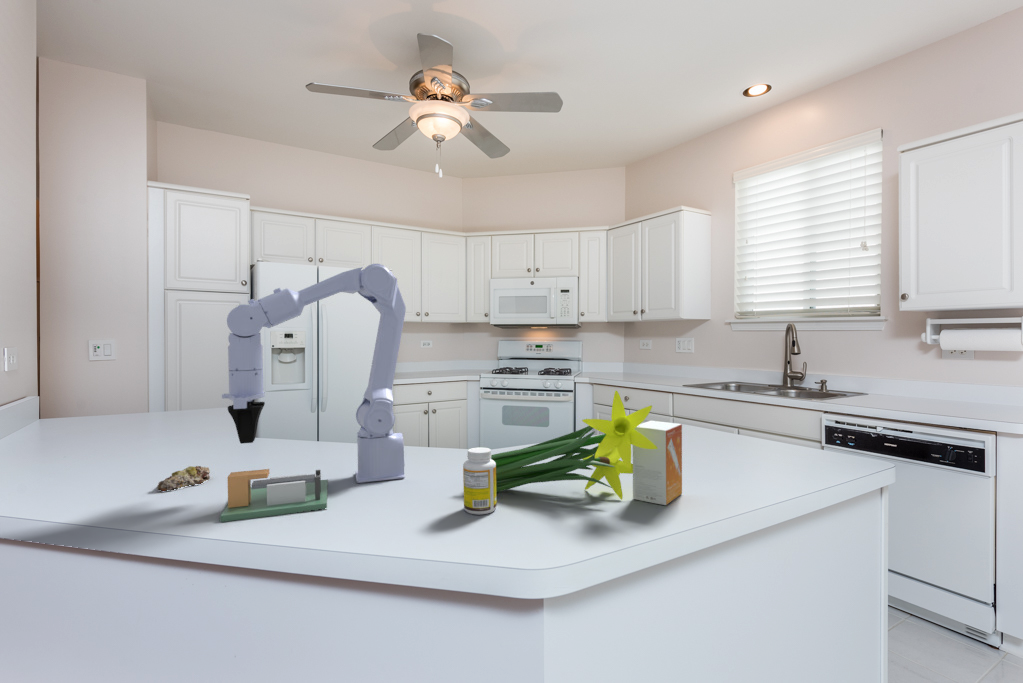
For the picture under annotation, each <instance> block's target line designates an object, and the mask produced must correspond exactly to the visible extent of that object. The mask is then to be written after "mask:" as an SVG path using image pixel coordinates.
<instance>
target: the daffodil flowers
mask: <svg viewBox="0 0 1023 683" xmlns="http://www.w3.org/2000/svg"><path fill="white" fill-rule="evenodd" d="M652 408H653V405H648V406H645V407H643V408H641V409H638V410H636V411H634V412H632V413H630V414H628V415H626V409H625V405H624V403H623V401H622V397H621V394H620V393H619V392H618V390H615V391H614V394H613V401H612V407H611V417H610V418H611V420H609V419H608V420H607V419H602V418H585V419H584V418H583V419H582V420H581V421H582V423H584V424H586V425H587V426H586V427H584V428H580V429H579V430H575V431H573V432H570V433H566V434H564V435H561V436H558V437H555V438H552V439H550V440H546V441H543V442H539V443H536V444H533V445H530V446H526V447H523V448H519V449H514V450H508V451H504V452H499V453H494V454H491V459H492V460H494V461H495V463H496V493H499V492H500V493H501V492H503V491H506V490H507V491H508V490H510V489H514V488H517V487H522V486H524V485H528V484H537V483H549V482H557V481H558V482H559V481H561V482H562V481H587V483H586V485H585V488H584V490H588V489H589V488H591V487H592V486H594V485H595V484H600V485H603V486H605V487H608V488H611V489H612V490H613V492H614V493H615V494H616V495H617V496H618V498H619V499H620V500H623V498H624V497H623V490H622V482H621V479H620V476H621V474H629V475H630V474H632V475H633V462H632V446H633V445H634V446H637V447H640V448H645V449H657V447H656V446H655V445H654V444H653V443H652V442H651V441H650V440H649V439H647V438H646V437H645V436H643V435H642V434H640V433H639V432H638V431H636V430H634V429H635V428H636V427H637V426H638V425H639V424H642V423H644V421H645V420H646V419H647V417H648V416H649V414H650V412H651V410H652ZM593 429H594V431H592V430H593ZM595 430H596V431H599V432H601V433H603V434H600V435H599V434H598V435H595V436H593V435H594V434H595V433H596V431H595ZM591 431H592V432H591ZM589 432H590V433H589ZM586 434H587V435H586ZM592 445H596V446H595V447H592V448H590V449H589V448H585V447H589V446H592ZM558 456H560V457H558ZM553 457H557V458H555V459H553V460H550V461H547V462H542V461H545V460H547V459H551V458H553ZM620 459H621V460H620ZM537 462H538V463H537ZM539 462H542V463H539ZM536 463H537V464H536ZM590 466H592V467H594V468H595V469H594V468H591V467H590ZM576 470H589V471H592V470H594V471H593V472H592V474H591V475H590V477H589V476H586V475H584V474H580V473H575V472H574V471H576ZM603 478H605V479H606V481H607V483H608V484H606V483H605V482H603V481H601V480H602V479H603Z"/></svg>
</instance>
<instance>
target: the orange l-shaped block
mask: <svg viewBox="0 0 1023 683" xmlns="http://www.w3.org/2000/svg"><path fill="white" fill-rule="evenodd" d="M269 475H270V468H266V469H265V468H264V469H253V470H246V471H245V470H243V471H233V472H230V473H229V474H228V476H227V505H228V508H232V507H241V506H248V505H249V503H250V501H251V485H252V483H251V482H252V481H251V480H259V479H260V480H263V479H269V478H268V477H269Z"/></svg>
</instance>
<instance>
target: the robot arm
mask: <svg viewBox="0 0 1023 683" xmlns="http://www.w3.org/2000/svg"><path fill="white" fill-rule="evenodd" d="M340 293H347V294H353V295H354V294H355V293H357V294H358V295H360V296H361V297H362V298H363V299H366V300H367V301H369V302H370V303H371V304H372V305H373V306H374V307H375V309H376V310H377V311H378V312H379V314H380V318H379V323H378V328H377V334H376V340H375V343H374V350H373V356H372V361H371V368H370V373H369V378H368V385H367V388H366V390H365V392H364V394H363V397H362V401H361V403H360V404H359V406H358V407H357V408H356V411H355V418H356V422H357V424H358V425H359V426H360V428H359V430H358V432H357V433H356V434H357V435H356V440H357V441H356V442H357V470H355V473H354V474H355V479H356V480H355V481H356V483H358V484H360V483H369V482H370V483H371V482H379V481H388V480H398V479H405V477H406V476H405V465H406V464H405V451H404V449H405V444H404V437H403V436H404V435H403V433H402V432H394V431H393V430H394V429H393V427H394V426H395V421H396V418H395V416H396V415H395V414H394V409H393V408H394V406H393V405H394V396H393V385H394V379H395V374H396V368H397V363H398V357H399V351H400V346H401V339H402V334H403V329H404V328H403V326H404V324H405V317H406V313H407V312H406V311H407V308H406V304H405V301H404V299H403V296H402V293H401V291H400V288H399V284H398V278H397V277H396V276H395V275H394V273H393V272H392V271H391V270H390V269H389V268H388V267H387V266H385V265H384V264H380V263H372V264H371V263H370V264H369V265H367V266H366V267H365V268H364V267H363V266H361V267H356V268H353V269H349V270H346V271H343V272H340V273H337V274H336V275H333V276H331V277H328V278H326V279H323V280H321V281H319V282H316V283H314V284H311V285H310V286H307V287H305V288H303V289H301V290H298V291H296V290H293V289H291V288H287V287H285V288H284V289H281V287H278V288H275V289H273V293H272V294H269V295H266V296H263V297H261V298H258V299H256V300H255V299H254V298H252V299H249V300H248V301H247V302H248V304H246V303H243V304H239V305H238V306H237V307H234V308H233V309H231V310H230V312H229V313H228V315H227V318H226V324H227V327H228V329H229V330H230V332H229V335H228V338H227V339H228V343H229V345H228V347H227V353H228V354H227V355H228V356H227V358H228V359H227V360H228V362H227V363H228V367H227V368H228V393H222V394H221V399H228V400H230V401H231V402H233V403H232V405H229V406H227V411H228V413H229V415H230V417H231V418H232V420H233V423H234V425H235V428H236V432H237V436H238V440H239V443H240V444H252V443H254V442H255V440H256V436H257V430H258V425H259V420H260V417H261V413H262V410H263V408H264V407H265V404H266V403H265V401H255V400H258V399H261V398H264V397H265V394H266V393H265V392H264V359H263V355H264V353H263V350H264V349H263V347H264V346H263V345H262V342H261V340H262V339H261V330H262V329H263V328H268V329H272V328H273V327H275V326H278V325H281V324H283V323H285V322H288V321H290V320H292V319H295V318H298V317H300V316H301V315H302V313H303V311H304V308H305V307H306V306H308V305H310V304H312V303H315V302H319V301H321V300H323V299H327V298H329V297H331V296H334V295H336V294H340Z"/></svg>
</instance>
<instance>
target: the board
mask: <svg viewBox="0 0 1023 683" xmlns="http://www.w3.org/2000/svg"><path fill="white" fill-rule="evenodd" d="M317 473H319V474H320V476H316V474H317ZM321 473H322V472H321V469H316V470H315V482H313V483H305V481H296V482H287V483H277V484H267V488H261V489H252V487H251V501H250V503H249V505H248V506H241V507H232V508H228V504H227V505H226V506H225V508H224V509H223V511H222V512H221V514H220V517H219V518H220V523H223V522H232V521H241V520H248V519H257V518H264V517H273V516H281V515H283V516H284V515H291V514H298V513H297V512H299V513H304V512H303V511H307V512H312V511H311V510H315V511H319V510H318V509H324V510H326V509H325V508H328V489H327V488H328V486H329V485H328V484H329V483H328V481H329V480H328V479H321ZM303 475H307V473H305V474H297V475H296V474H295V475H287V476H284V475H283V476H277V477H270V478H269V479H275V478H284V477H294V476H303ZM290 513H291V514H290Z"/></svg>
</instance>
